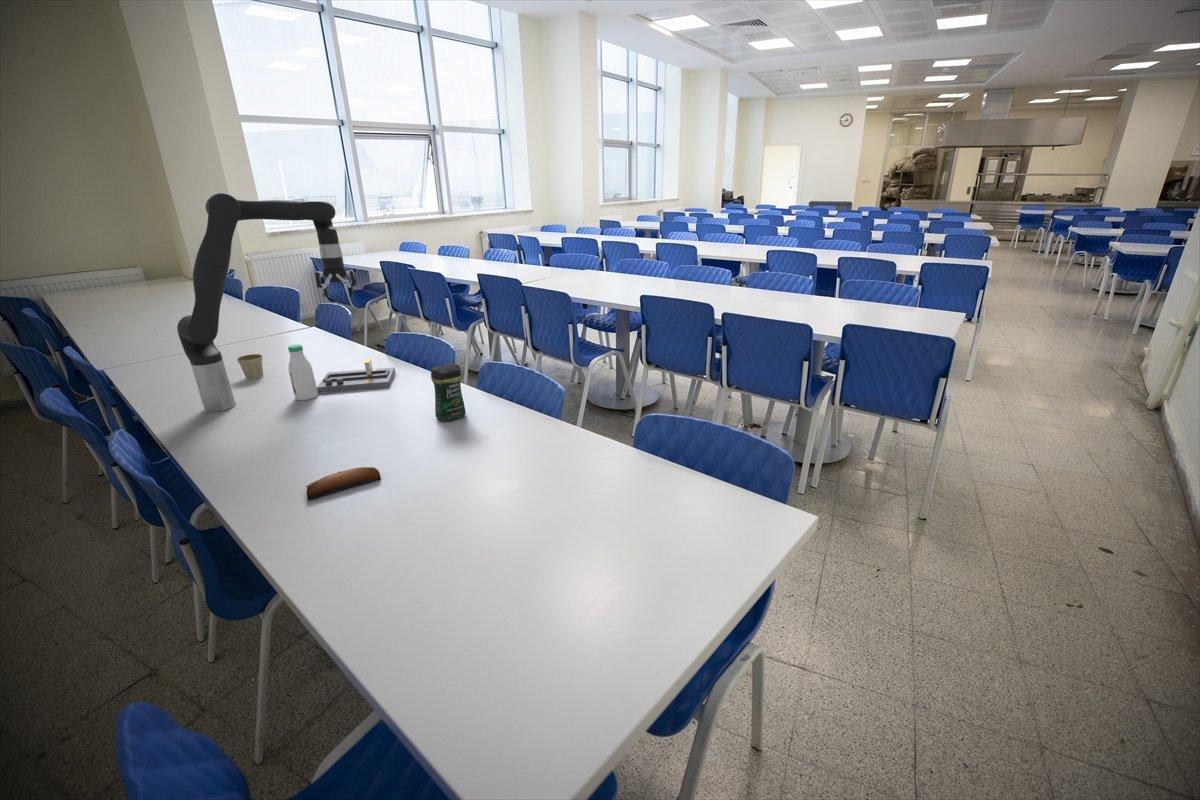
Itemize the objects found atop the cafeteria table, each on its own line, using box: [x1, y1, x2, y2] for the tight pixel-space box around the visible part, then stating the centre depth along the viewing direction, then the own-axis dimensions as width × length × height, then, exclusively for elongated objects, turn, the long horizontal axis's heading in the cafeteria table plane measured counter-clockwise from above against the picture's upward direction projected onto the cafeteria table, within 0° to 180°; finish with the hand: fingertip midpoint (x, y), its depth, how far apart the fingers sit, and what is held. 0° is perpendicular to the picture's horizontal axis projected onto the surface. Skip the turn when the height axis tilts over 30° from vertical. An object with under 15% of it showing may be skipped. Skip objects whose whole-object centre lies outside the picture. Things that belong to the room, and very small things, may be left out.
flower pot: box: [235, 353, 264, 380], centre depth 221 cm, size 9×9×9 cm
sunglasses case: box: [305, 466, 382, 501], centre depth 142 cm, size 18×7×7 cm
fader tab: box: [364, 358, 374, 376], centre depth 214 cm, size 4×2×6 cm, turn 12°
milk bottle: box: [287, 344, 319, 401], centre depth 197 cm, size 8×8×20 cm
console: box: [316, 367, 396, 394], centre depth 214 cm, size 18×26×4 cm
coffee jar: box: [430, 362, 467, 422], centre depth 179 cm, size 10×8×19 cm
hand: (339, 297), depth 214 cm, fingers open, 8 cm apart
